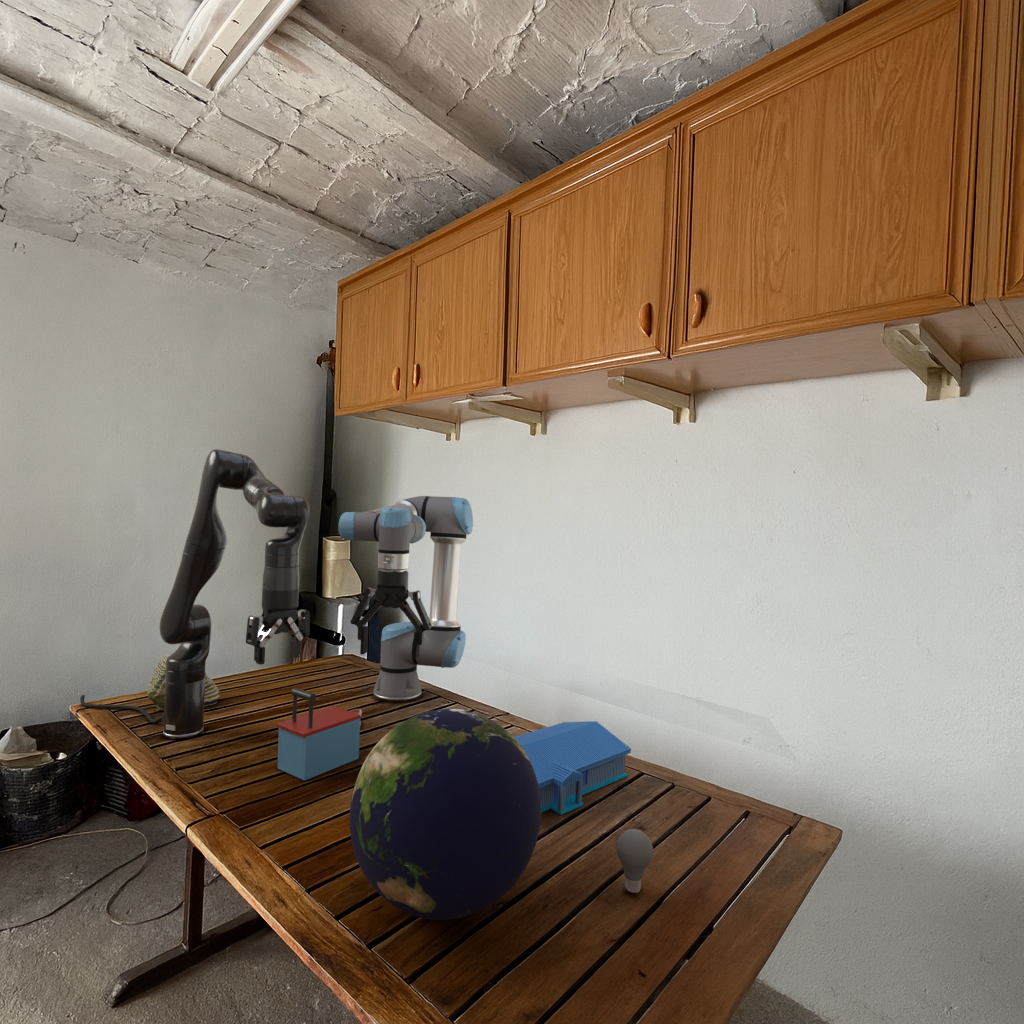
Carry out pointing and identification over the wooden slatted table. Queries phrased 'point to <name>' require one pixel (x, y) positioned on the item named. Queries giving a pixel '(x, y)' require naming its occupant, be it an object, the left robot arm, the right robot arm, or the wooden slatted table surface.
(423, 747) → the globe
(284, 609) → the left robot arm
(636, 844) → the light bulb
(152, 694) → the fossil
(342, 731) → the chest
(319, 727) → the lid
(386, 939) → the wooden slatted table surface
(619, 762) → the model building
